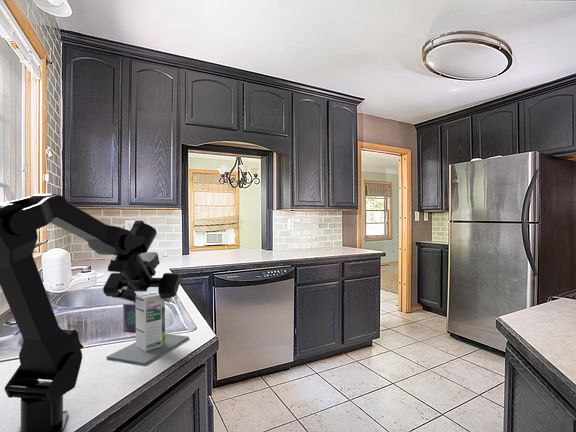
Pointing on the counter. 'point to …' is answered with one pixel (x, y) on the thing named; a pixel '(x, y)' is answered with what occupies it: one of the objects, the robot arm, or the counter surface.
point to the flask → (129, 317)
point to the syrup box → (150, 321)
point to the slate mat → (141, 357)
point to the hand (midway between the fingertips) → (153, 301)
